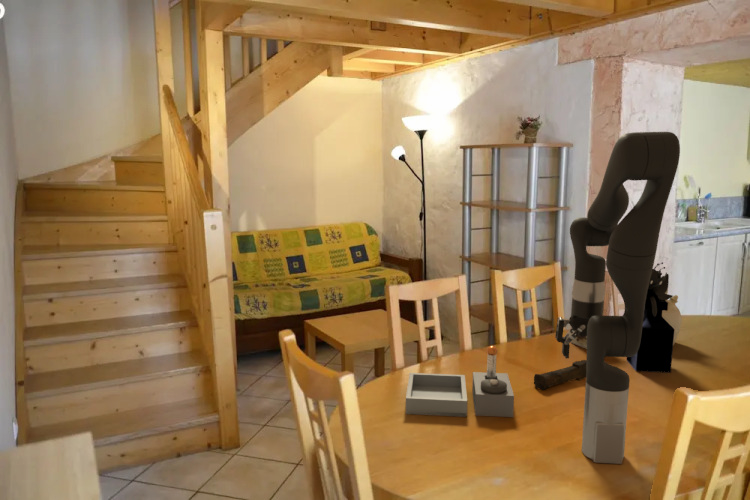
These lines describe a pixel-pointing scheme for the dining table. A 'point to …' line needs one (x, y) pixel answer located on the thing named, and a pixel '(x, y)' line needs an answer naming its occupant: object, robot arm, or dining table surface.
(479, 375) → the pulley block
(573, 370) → the hand tool
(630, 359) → the vase
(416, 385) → the tray
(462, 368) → the dining table surface
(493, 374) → the pin
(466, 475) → the dining table surface
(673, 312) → the jug
